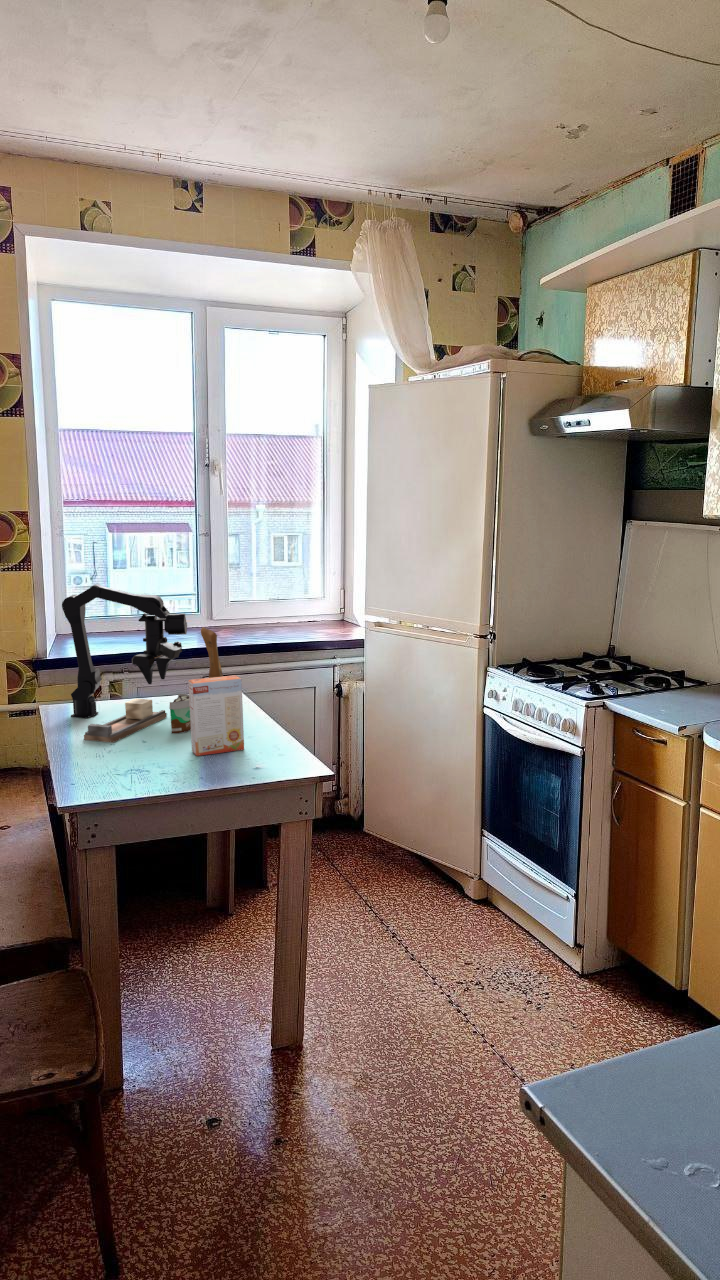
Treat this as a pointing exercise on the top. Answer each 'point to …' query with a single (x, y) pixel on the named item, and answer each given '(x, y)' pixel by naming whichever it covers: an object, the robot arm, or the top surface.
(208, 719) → the cracker box
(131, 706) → the slider block
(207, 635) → the tan tall curved piece
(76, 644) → the robot arm
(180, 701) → the food container
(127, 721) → the slider track
